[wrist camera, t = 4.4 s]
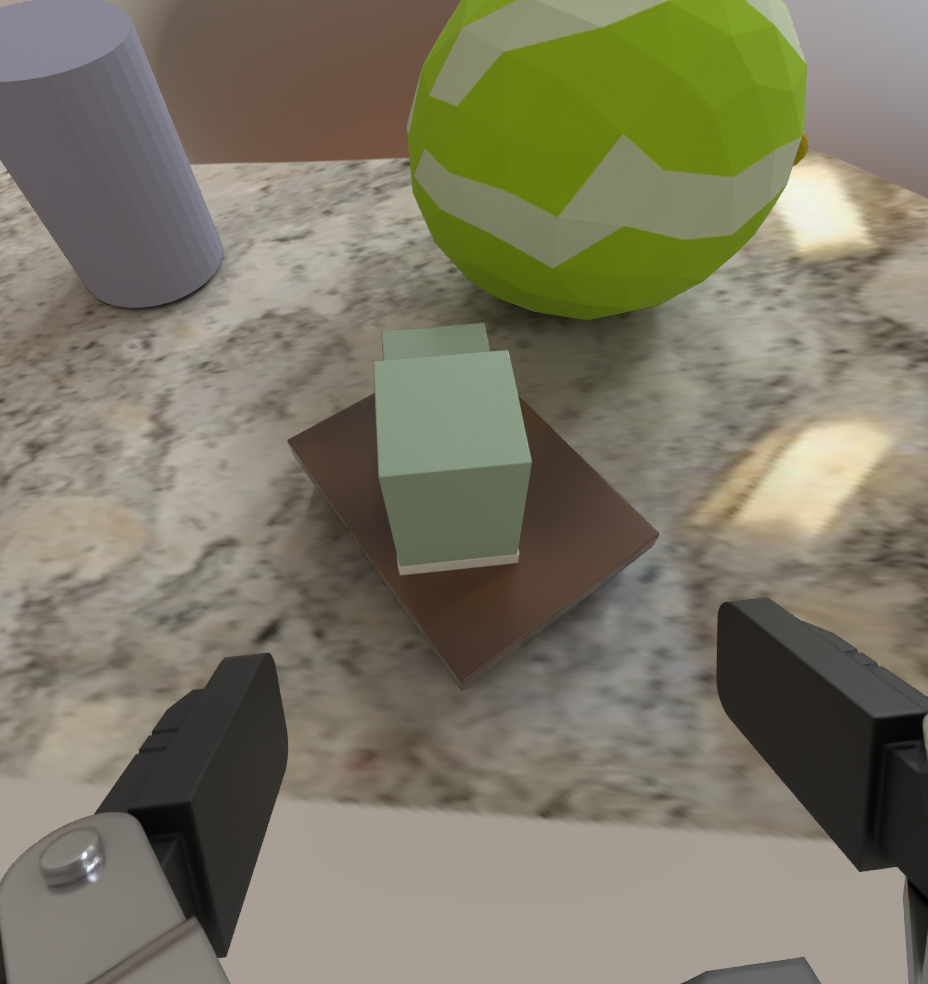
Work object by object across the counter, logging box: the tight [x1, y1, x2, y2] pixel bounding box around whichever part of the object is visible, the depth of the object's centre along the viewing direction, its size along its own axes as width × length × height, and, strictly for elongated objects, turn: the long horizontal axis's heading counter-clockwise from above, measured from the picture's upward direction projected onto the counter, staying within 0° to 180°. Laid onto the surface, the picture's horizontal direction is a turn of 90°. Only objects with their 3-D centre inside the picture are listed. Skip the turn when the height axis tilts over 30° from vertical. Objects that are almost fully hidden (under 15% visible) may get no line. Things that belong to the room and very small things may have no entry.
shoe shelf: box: [288, 393, 659, 690], centre depth 32 cm, size 16×12×4 cm
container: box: [0, 0, 223, 308], centre depth 39 cm, size 10×10×15 cm
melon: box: [407, 0, 808, 320], centre depth 36 cm, size 20×25×20 cm
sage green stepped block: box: [373, 323, 532, 575], centre depth 27 cm, size 12×6×8 cm, turn 6°
